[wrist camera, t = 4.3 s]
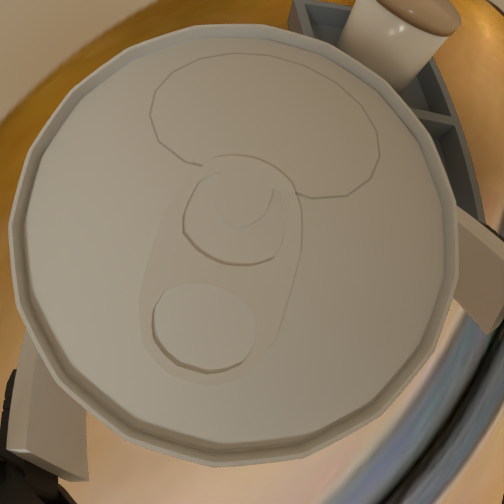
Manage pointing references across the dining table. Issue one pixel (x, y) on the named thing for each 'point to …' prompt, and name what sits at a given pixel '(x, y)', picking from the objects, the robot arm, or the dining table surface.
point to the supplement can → (234, 244)
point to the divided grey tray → (408, 101)
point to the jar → (397, 36)
